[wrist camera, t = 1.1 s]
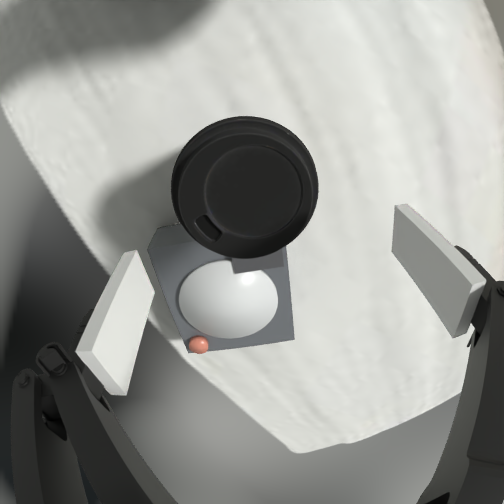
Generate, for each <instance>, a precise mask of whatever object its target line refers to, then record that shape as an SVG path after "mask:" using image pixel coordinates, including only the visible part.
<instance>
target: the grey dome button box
mask: <svg viewBox="0 0 504 504" xmlns="http://www.w3.org/2000/svg"><path fill="white" fill-rule="evenodd" d="M147 250H148V253H149V256H150V259H151V261H152V264H153V267H154V270H155V272H156V275H157V278H158V280H159V283H160V286H161V288H162V291H163V293H164V296H165V299H166V301H167V304H168V306H169V309H170V311H171V313H172V316H173V318H174V321H175V323H176V325H177V328H178V330H179V333H180V335H181V337H182V339H183V342H184V344H185V346H186V349H187V351H188V353H197V354H202V353H205V352H206V351H216V350H225V349H233V348H241V347H249V346H256V345H263V344H270V343H277V342H283V341H289V340H295V339H294V327H293V315H292V303H291V292H290V281H289V271H288V260H287V251H286V246H285V247H283V248H282V249H280V250H278V251H276V252H274V253H272V254H269V255H266V256H263V257H259V258H252V259H238V258H231V257H226V256H223V255H220V254H218V253H215V252H213V251H211V250H209V249H207V248H205V247H204V246H202V245H200V244H199V243H198V242H197V241H195V240H194V239H193V238H192V237H191V236H190V235H189V234H188V233H187V232H186V230H185V229H184V228H183V226H182V225H181V224H178V225H172V226H167V227H162V228H158V229H157V231H156V233H155V235H154V237H153V239H152V241H151V243H150V245H149V247H148V249H147Z"/></svg>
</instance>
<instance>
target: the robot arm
mask: <svg viewBox="0 0 504 504" xmlns="http://www.w3.org/2000/svg"><path fill="white" fill-rule="evenodd" d="M392 253H393V254H394V255H395V257H396V258H397V259H398V261H399V262H400V263H401V265H402V266H403V267H404V268H405V270H406V271H407V272H408V274H409V275H410V277H411V278H412V279H413V281H414V282H415V283H416V285H417V286H418V288H419V289H420V290H421V292H422V293H423V295H424V296H425V297H426V299H427V300H428V302H429V303H430V305H431V306H432V308H433V309H434V310H435V312H436V313H437V315H438V316H439V318H440V319H441V321H442V323H443V324H444V326H445V327H446V329H447V330H448V332H449V333H450V335H451V337H452V338H455V337H458V336H460V335H463V334H465V333H467V330H468V328H469V326H470V323H472V325H473V326H474V328H475V330H474V332H473V334H472V336H471V338H470V340H469V343H468V345H467V347H469V346H470V344H471V347H470V353H469V359H468V364H467V370H466V374H465V379H464V383H463V388H462V392H461V396H460V400H459V404H458V407H457V411H456V415H455V418H454V421H453V425H452V428H451V431H450V434H449V437H448V440H447V443H446V445H445V448H444V451H443V454H442V456H441V459H440V461H439V464H438V466H437V469H436V471H435V474H434V476H433V478H432V480H431V482H430V483H429V485H428V486H427V488H426V489H425V490H424V492H423V493H422V495H421V496H420V498H419V500H418V502H417V504H502V503H503V500H504V281H495V280H494V279H493V277H492V276H491V275H490V274H489V273H488V272H487V271H486V270H485V269H484V268H483V267H482V266H481V265H480V264H478V262H477V261H476V260H475V259H473V257H472V256H471V255H470V254H469V253H468V252H467V251H466V250H464V249H463V248H461V247H459V246H453V245H452V244H451V243H450V242H449V241H448V240H447V239H446V238H445V237H444V236H443V235H442V234H441V233H439V232H438V231H437V230H436V229H435V228H434V227H433V226H432V225H431V224H430V223H429V222H428V221H426V220H425V219H424V218H423V217H422V216H421V215H420V214H418V213H417V212H416V211H415V210H414V209H413V208H412V207H410V206H409V205H408V204H402V205H395V211H394V228H393V241H392ZM154 294H155V291H154V289H153V287H152V285H151V282H150V280H149V278H148V275H147V273H146V271H145V268H144V266H143V263H142V261H141V258H140V256H139V254H138V251H137V250H133V251H128V252H124V253H123V255H122V257H121V259H120V261H119V262H118V264H117V266H116V268H115V270H114V272H113V274H112V276H111V277H110V279H109V281H108V283H107V285H106V287H105V289H104V291H103V293H102V295H101V297H100V299H99V301H98V303H97V305H96V307H95V309H91V310H90V311H89V312H88V313H87V314H86V315H85V316H84V318H83V320H82V322H81V324H80V327H79V328H78V330H77V332H76V333H77V334H75V337H74V339H73V341H72V343H71V345H70V347H69V350H68V352H66V351H65V350H64V349H63V347H62V346H61V345H60V343H58V342H51V343H49V344H47V345H45V346H44V347H43V348H42V349H41V350H40V351H39V353H38V354H37V357H36V363H37V365H38V366H39V367H40V368H41V369H42V371H43V372H44V373H45V374H41V375H38V376H37V375H36V374H35V373H34V371H33V370H32V369H29V368H28V369H24V370H22V371H21V372H19V374H17V376H16V378H15V379H14V383H13V391H12V408H11V453H12V470H13V480H14V489H15V496H16V503H17V504H88V501H87V498H86V494H85V490H84V486H83V482H82V478H81V474H80V470H79V465H78V460H77V457H78V459H79V461H80V464H81V466H82V468H83V470H84V472H85V474H86V476H87V478H88V480H89V482H90V484H91V486H92V487H93V489H94V491H95V493H96V495H97V497H98V498H99V500H100V502H101V503H102V504H178V503H177V502H176V501H175V500H174V498H173V497H172V496H171V495H170V494H169V493H168V491H167V490H166V489H165V487H164V486H163V485H162V484H161V482H160V481H159V480H158V478H157V477H156V476H155V475H154V473H153V472H152V470H151V469H150V468H149V466H148V465H147V464H146V462H145V461H144V459H143V458H142V456H141V455H140V454H139V452H138V451H137V449H136V448H135V446H134V445H133V443H132V442H131V440H130V439H129V437H128V435H127V434H126V432H125V431H124V429H123V427H122V426H121V424H120V423H119V421H118V419H117V418H116V416H115V414H114V413H113V411H112V409H111V407H110V405H109V404H108V402H107V400H106V398H105V397H104V396H103V395H102V392H103V389H104V388H105V389H106V390H107V391H108V392H109V393H110V394H111V395H127V391H128V387H129V383H130V378H131V375H132V371H133V367H134V363H135V359H136V355H137V352H138V348H139V344H140V340H141V337H142V333H143V330H144V327H145V323H146V320H147V316H148V313H149V310H150V306H151V303H152V300H153V297H154ZM42 417H43V418H42Z"/></svg>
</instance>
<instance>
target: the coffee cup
mask: <svg viewBox="0 0 504 504" xmlns="http://www.w3.org/2000/svg"><path fill="white" fill-rule="evenodd" d="M171 195H172V202H173V207H174V210H175V213H176V215H177V217H178V220H179V221H180V223H181V225H182V226H183V228H184V229H185V230H186V232H187V233H188V234H189V235H190V236H191V237H192V238H193V239H194V240H195V241H197V242H198V243H199V244H200V245H202V246H204V247H205V248H207V249H209V250H211V251H213V252H215V253H218V254H220V255H223V256H226V257H231V258H238V259H252V258H259V257H263V256H266V255H269V254H272V253H274V252H276V251H278V250H280V249H282V248H283V247H285V246H286V245H288V244H289V243H290V242H292V241H293V240H294V239H295V238H296V237H297V236H298V235H299V234H300V233H301V232H302V231H303V230H304V229H305V227H306V226H307V224H308V223H309V221H310V219H311V217H312V215H313V213H314V210H315V207H316V204H317V199H318V177H317V172H316V168H315V164H314V162H313V159H312V157H311V155H310V153H309V151H308V150H307V148H306V146H305V145H304V144H303V143H302V141H301V140H300V139H299V138H298V137H297V136H296V135H295V134H294V133H292V132H291V131H290V130H288V129H287V128H285V127H284V126H282V125H280V124H278V123H276V122H273V121H271V120H268V119H264V118H260V117H252V116H238V117H231V118H227V119H223V120H220V121H217V122H215V123H213V124H211V125H209V126H207V127H205V128H204V129H202V130H201V131H199V132H198V133H197V134H196V135H194V136H193V137H192V138H191V139H190V140H189V142H188V143H187V144H186V145H185V146H184V148H183V149H182V151H181V153H180V154H179V156H178V158H177V161H176V163H175V166H174V169H173V174H172V181H171Z"/></svg>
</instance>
